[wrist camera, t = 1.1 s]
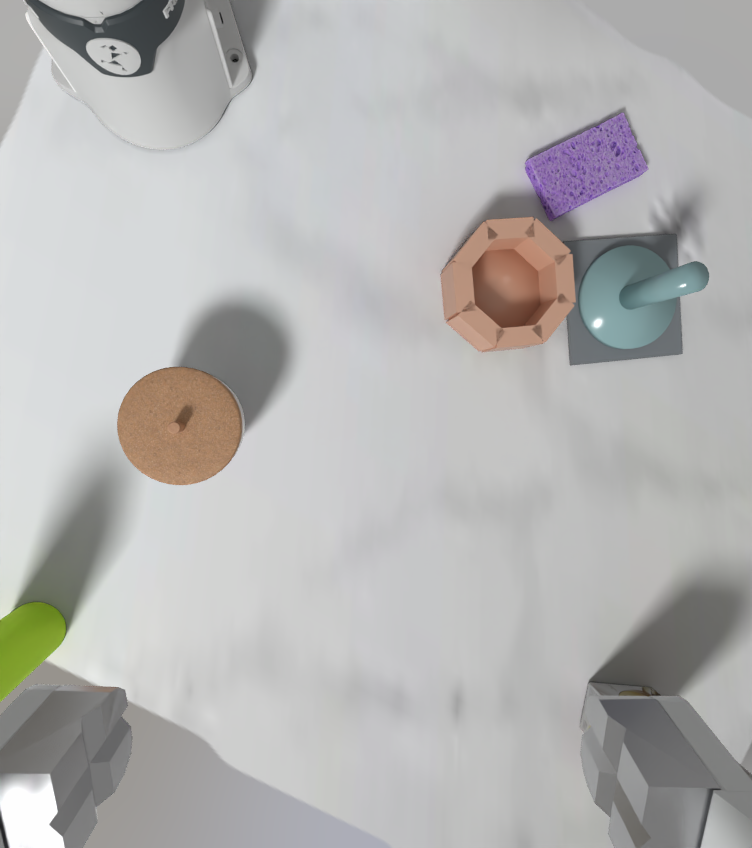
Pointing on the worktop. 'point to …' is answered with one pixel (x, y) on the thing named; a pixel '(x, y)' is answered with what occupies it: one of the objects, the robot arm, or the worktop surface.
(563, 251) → the bowl
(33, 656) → the soap dispenser
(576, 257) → the mat
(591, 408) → the worktop surface
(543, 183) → the sponges
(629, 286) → the lid
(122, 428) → the lidded jar
